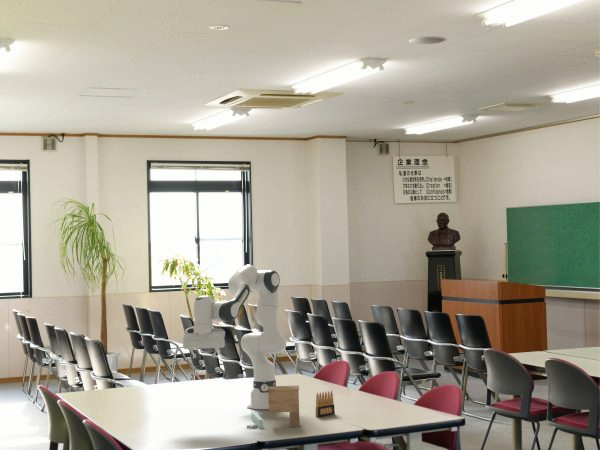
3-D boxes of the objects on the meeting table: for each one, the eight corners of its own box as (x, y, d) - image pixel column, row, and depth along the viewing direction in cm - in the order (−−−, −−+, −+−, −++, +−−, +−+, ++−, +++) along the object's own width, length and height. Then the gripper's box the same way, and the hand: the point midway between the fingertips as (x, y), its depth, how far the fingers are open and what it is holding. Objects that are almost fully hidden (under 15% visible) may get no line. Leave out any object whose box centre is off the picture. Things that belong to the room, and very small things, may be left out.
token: (245, 427, 419) (245, 425, 419) (256, 427, 420) (256, 424, 420) (247, 429, 414) (247, 426, 414) (258, 428, 415) (258, 426, 415)
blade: (251, 420, 437) (251, 412, 437) (255, 420, 437) (255, 411, 437) (259, 428, 415) (259, 420, 415) (263, 428, 415) (263, 419, 416)
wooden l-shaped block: (269, 425, 422) (267, 386, 422) (300, 423, 422) (298, 385, 423) (268, 428, 414) (267, 389, 415) (300, 426, 415) (299, 387, 415)
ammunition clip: (317, 417, 436) (317, 392, 437) (315, 417, 438) (314, 392, 438) (335, 414, 443) (334, 390, 443) (332, 414, 444) (331, 389, 444)
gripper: (225, 327, 439) (226, 356, 438) (183, 329, 438) (184, 357, 438) (224, 328, 432) (225, 357, 432) (181, 330, 432) (182, 359, 431)
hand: (204, 357), depth 435 cm, fingers open, 8 cm apart
